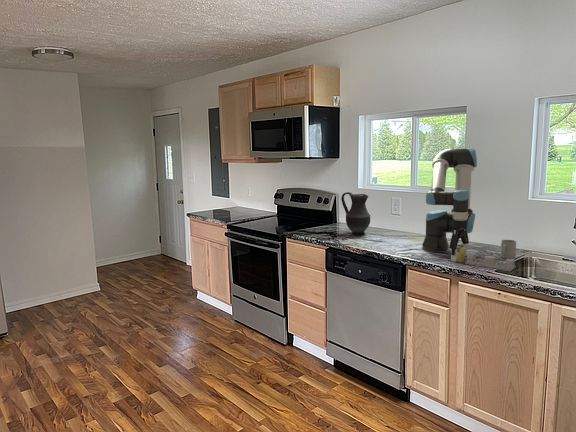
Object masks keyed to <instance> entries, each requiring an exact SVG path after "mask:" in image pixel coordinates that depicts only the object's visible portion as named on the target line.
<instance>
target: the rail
mask: <svg viewBox="0 0 576 432" xmlns="http://www.w3.org/2000/svg"><path fill="white" fill-rule="evenodd" d="M464 264H465V265H468V264H470V266H474V265H476V267H480V266H482V267H481V268H486V267H487V269H492V270H498V271H499V270H500V271H504V272H505V271H506V272H512V271H513V270H514V269H516V268H517V266H516V260H515V258H513V259H507V258H506V259H505V262H500V261H497V256H493V255H485V256H484V259H481V258H477V254H476V253H473V252H469V253H467V255H466V261H465V262H464Z"/></svg>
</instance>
